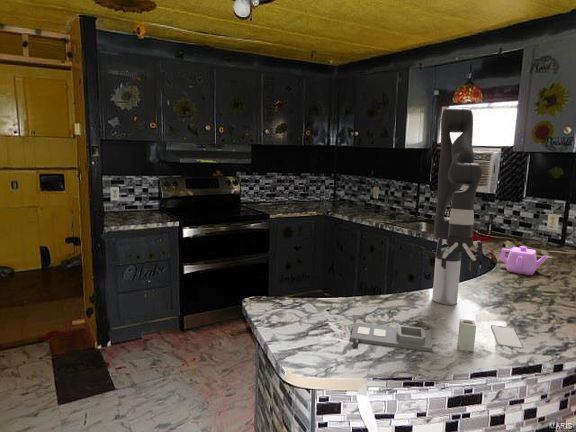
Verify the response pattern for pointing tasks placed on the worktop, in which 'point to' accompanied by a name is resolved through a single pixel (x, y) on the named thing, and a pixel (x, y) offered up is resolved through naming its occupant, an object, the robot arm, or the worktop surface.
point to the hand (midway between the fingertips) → (457, 269)
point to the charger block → (466, 335)
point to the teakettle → (521, 260)
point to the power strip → (392, 336)
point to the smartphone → (506, 336)
